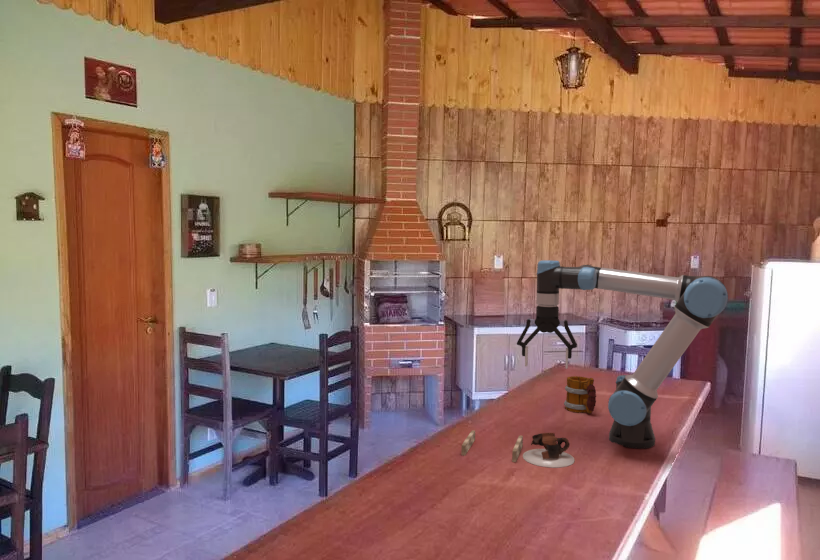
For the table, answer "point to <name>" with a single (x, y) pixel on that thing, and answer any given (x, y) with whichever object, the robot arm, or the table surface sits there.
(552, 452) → the pottery mug
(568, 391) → the mug
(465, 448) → the pair of beige bars
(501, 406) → the table surface
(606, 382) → the table surface
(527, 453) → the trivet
